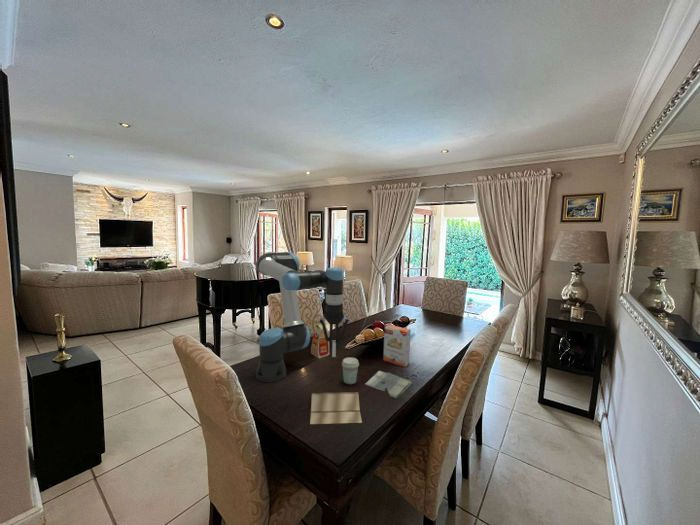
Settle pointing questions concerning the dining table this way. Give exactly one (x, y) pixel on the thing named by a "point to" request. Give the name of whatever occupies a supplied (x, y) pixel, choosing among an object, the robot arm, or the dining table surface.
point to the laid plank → (335, 417)
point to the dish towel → (389, 383)
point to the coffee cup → (350, 370)
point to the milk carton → (320, 342)
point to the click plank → (335, 401)
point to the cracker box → (396, 345)
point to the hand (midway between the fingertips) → (333, 355)
